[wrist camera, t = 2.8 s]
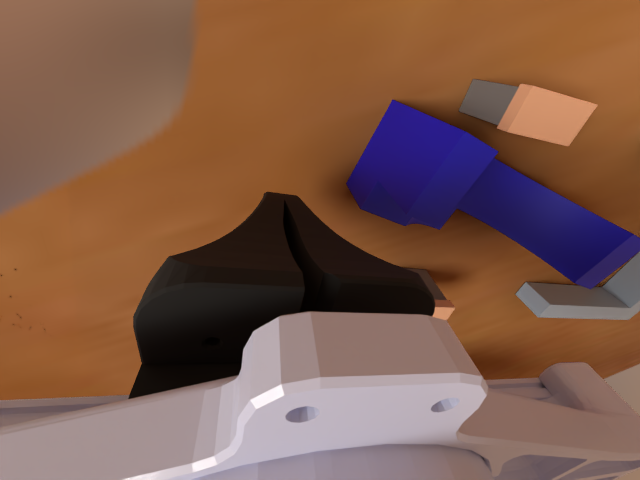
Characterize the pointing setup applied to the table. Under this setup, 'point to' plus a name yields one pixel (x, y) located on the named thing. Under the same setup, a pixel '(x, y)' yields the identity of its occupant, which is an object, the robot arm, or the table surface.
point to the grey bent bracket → (587, 297)
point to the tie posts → (517, 131)
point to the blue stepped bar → (480, 195)
